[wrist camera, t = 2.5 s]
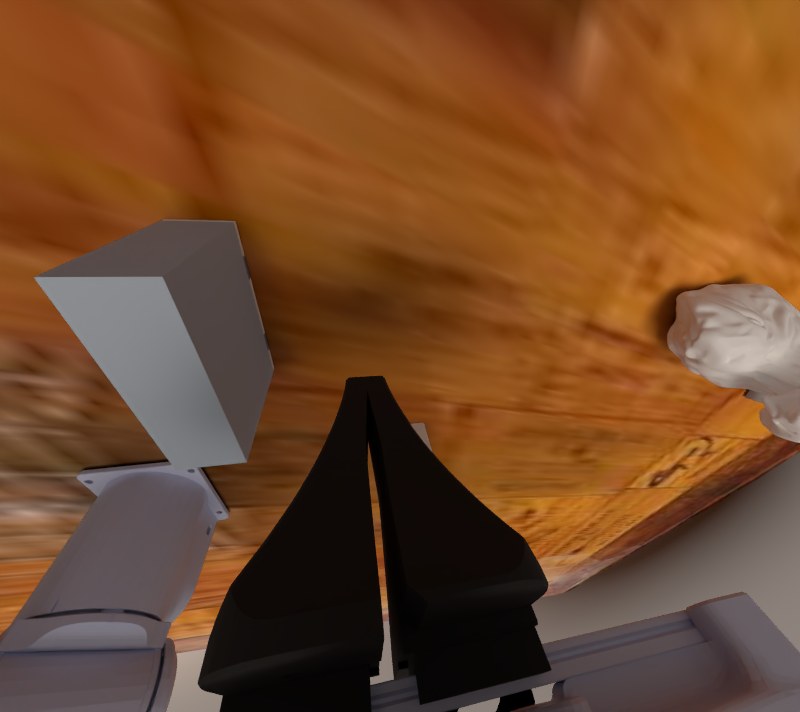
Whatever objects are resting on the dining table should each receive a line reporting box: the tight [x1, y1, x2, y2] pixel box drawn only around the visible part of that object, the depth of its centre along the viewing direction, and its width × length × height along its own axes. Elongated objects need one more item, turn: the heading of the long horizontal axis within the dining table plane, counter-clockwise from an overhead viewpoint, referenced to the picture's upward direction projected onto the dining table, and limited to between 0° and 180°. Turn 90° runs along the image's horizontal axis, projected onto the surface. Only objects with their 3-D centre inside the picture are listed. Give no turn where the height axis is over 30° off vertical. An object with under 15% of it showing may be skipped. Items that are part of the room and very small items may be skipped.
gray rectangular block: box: [34, 219, 274, 470], centre depth 13 cm, size 9×3×7 cm, turn 176°
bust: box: [667, 283, 800, 443], centre depth 19 cm, size 12×8×11 cm
